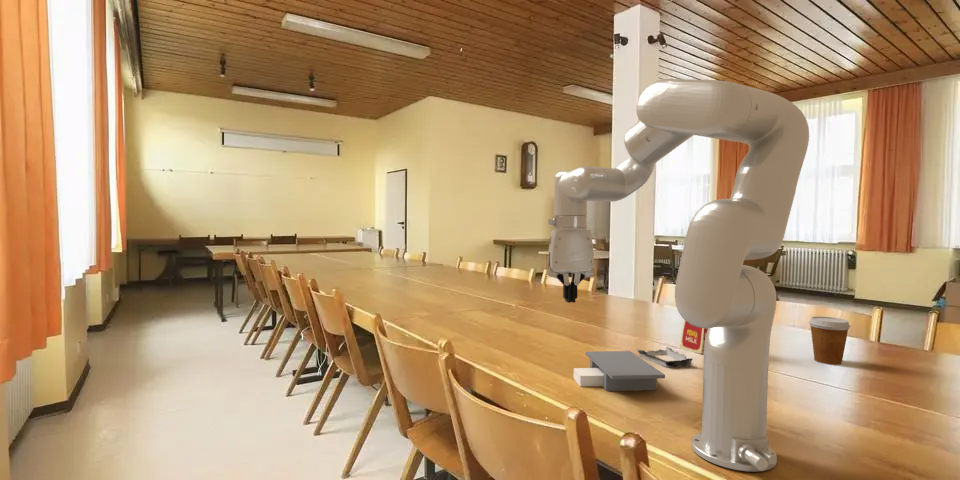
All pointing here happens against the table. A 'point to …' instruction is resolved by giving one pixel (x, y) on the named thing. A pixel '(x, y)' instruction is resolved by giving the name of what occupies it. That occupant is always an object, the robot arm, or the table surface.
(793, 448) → the table surface
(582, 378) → the white rectangular block
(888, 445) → the table surface
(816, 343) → the disposable coffee cup
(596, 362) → the grey flat-topped block
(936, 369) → the table surface
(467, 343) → the table surface
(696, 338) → the milk carton
